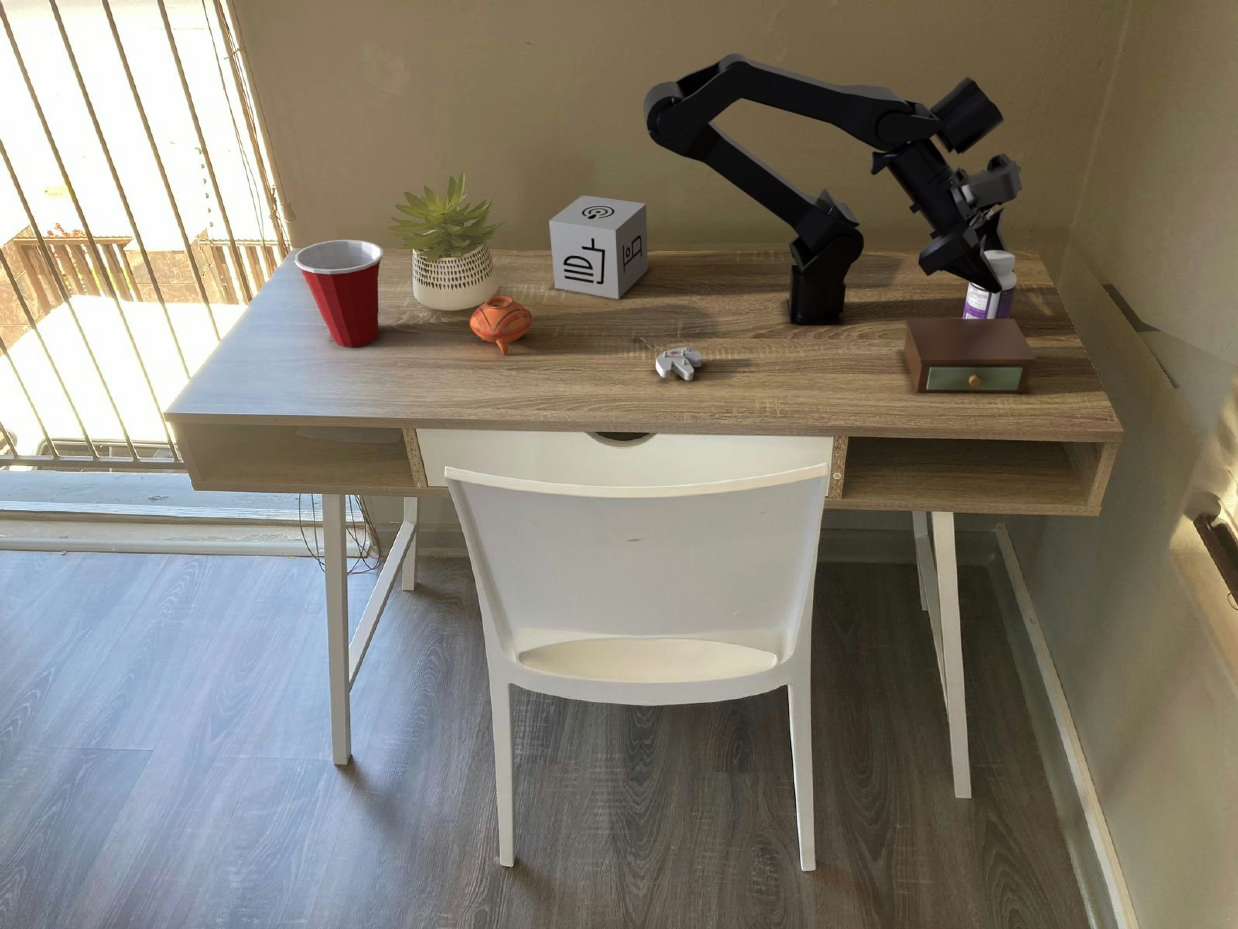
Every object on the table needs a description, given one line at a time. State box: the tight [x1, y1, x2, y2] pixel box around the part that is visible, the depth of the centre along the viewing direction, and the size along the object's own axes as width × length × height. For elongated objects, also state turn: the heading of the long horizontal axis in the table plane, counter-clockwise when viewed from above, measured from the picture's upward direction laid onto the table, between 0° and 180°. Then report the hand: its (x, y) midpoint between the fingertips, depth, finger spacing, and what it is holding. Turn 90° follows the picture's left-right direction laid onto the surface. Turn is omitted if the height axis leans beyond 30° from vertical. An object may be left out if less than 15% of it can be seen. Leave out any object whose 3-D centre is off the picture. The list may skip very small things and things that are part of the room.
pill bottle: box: [962, 250, 1018, 319], centre depth 117 cm, size 5×5×10 cm
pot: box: [469, 295, 534, 356], centre depth 120 cm, size 8×8×7 cm
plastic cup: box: [294, 239, 384, 348], centre depth 121 cm, size 11×11×12 cm
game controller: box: [637, 337, 703, 381], centre depth 115 cm, size 6×12×3 cm, turn 49°
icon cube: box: [548, 194, 649, 300], centre depth 133 cm, size 10×10×10 cm
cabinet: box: [903, 318, 1037, 394], centre depth 110 cm, size 13×10×5 cm
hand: (1004, 282), depth 115 cm, fingers closed on pill bottle, 5 cm apart
